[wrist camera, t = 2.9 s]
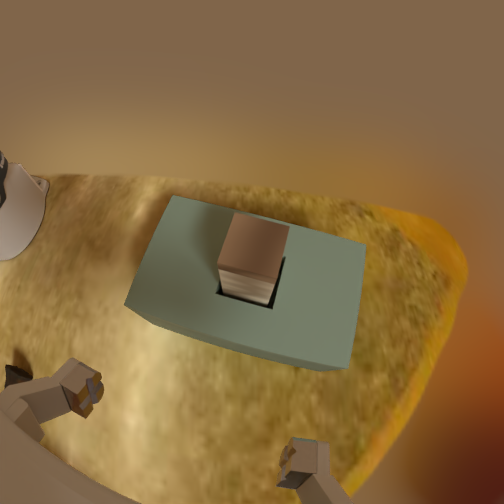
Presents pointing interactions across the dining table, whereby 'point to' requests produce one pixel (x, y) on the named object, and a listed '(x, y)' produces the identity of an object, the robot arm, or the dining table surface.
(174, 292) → the box with square hole
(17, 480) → the robot arm
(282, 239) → the wooden block
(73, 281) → the dining table surface
